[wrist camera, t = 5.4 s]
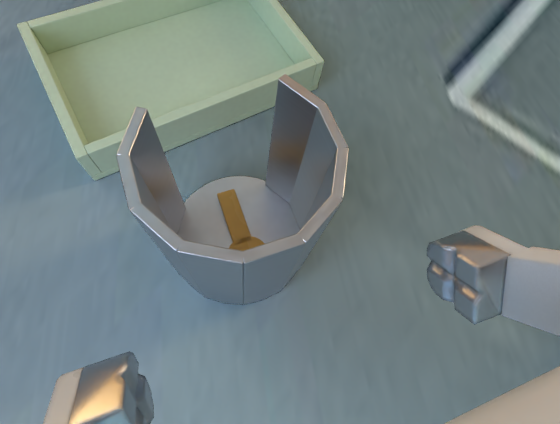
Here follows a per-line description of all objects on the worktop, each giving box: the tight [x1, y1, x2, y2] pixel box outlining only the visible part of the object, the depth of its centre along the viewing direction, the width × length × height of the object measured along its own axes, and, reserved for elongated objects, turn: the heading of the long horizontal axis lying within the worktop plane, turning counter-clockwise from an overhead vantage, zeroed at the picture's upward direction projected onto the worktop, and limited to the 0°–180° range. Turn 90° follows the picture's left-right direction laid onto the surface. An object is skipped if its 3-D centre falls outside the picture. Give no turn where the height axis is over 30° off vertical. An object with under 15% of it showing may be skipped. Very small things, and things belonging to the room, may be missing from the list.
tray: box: [17, 0, 324, 181], centre depth 22 cm, size 15×10×2 cm
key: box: [217, 189, 265, 251], centre depth 19 cm, size 5×2×1 cm, turn 20°
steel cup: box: [116, 74, 349, 305], centre depth 16 cm, size 7×7×9 cm
